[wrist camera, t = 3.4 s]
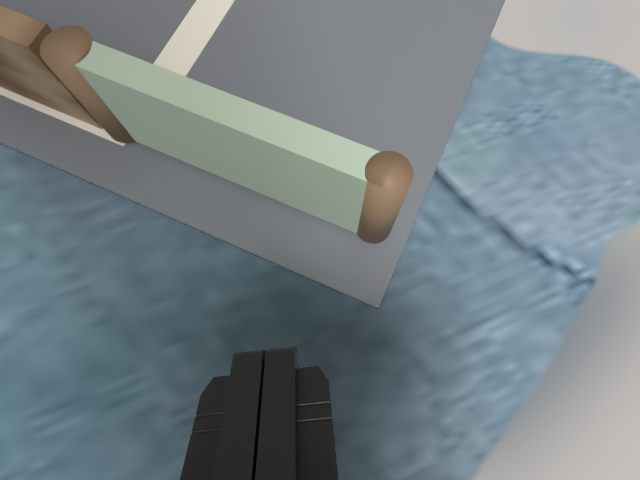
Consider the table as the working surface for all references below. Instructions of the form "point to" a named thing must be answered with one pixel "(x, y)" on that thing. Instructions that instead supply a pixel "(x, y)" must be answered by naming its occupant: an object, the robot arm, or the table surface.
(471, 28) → the card
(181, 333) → the table surface
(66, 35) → the green panel
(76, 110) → the walnut fence
